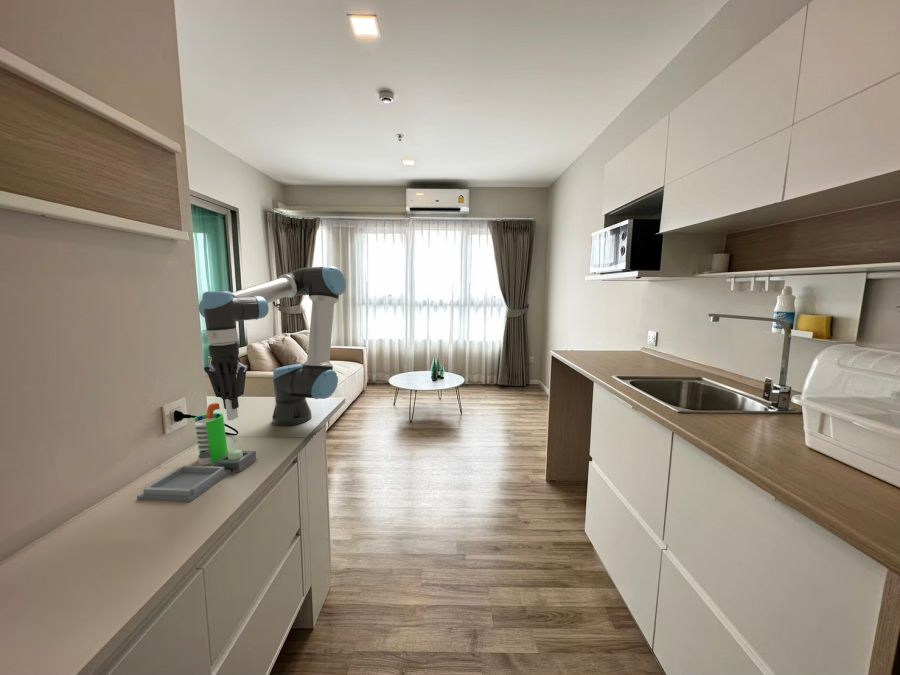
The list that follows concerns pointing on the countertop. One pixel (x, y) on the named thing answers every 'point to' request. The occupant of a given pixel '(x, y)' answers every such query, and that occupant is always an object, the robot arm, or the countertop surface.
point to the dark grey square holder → (236, 461)
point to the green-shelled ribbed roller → (211, 435)
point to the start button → (235, 454)
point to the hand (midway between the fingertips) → (232, 418)
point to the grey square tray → (184, 483)
